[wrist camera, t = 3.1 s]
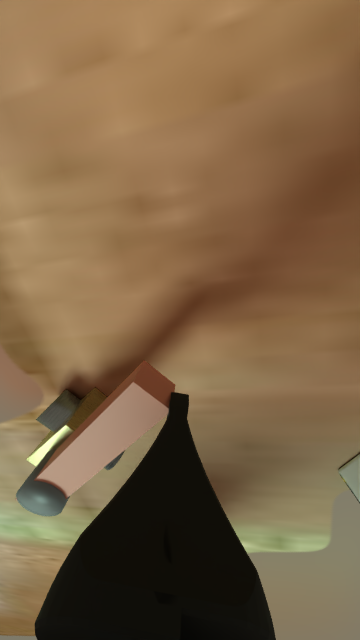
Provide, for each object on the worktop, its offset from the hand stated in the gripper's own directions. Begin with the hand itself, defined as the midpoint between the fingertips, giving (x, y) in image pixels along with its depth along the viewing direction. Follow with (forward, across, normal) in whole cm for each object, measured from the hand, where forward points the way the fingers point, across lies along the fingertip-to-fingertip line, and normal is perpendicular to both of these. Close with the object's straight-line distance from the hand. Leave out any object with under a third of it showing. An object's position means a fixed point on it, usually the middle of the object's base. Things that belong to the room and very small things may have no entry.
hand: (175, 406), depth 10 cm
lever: (+1, +5, +4) cm, 7 cm away
